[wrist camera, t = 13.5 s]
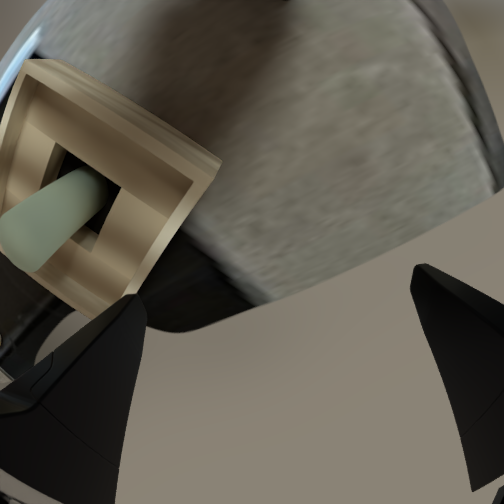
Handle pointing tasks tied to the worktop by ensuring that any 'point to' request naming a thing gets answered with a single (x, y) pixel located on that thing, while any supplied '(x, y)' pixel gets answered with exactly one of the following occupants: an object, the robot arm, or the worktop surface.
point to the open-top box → (107, 163)
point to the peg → (51, 217)
